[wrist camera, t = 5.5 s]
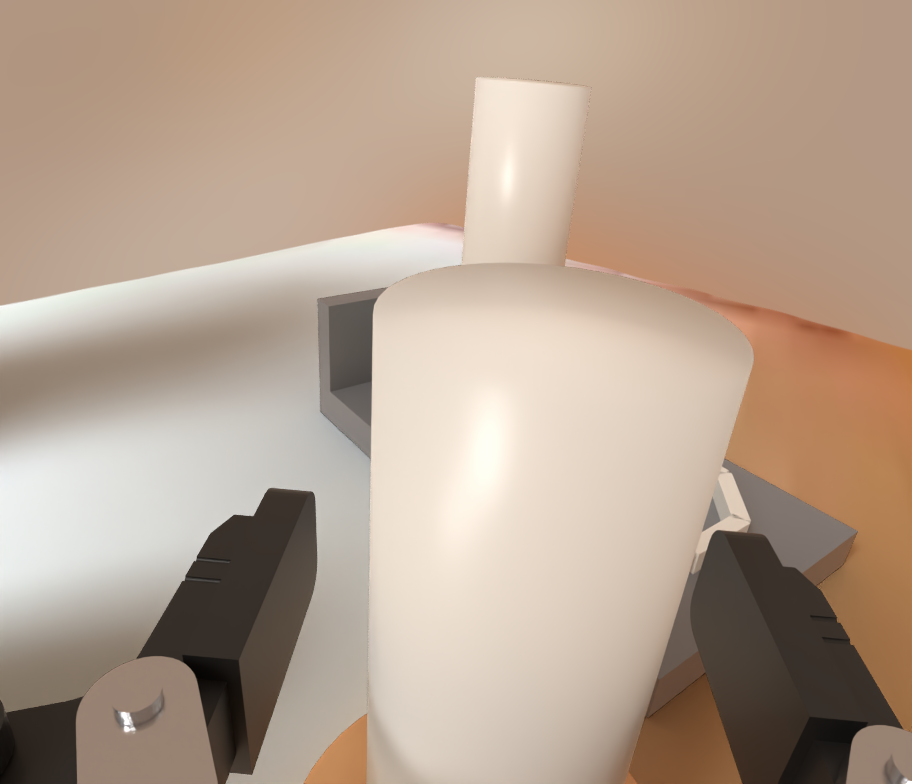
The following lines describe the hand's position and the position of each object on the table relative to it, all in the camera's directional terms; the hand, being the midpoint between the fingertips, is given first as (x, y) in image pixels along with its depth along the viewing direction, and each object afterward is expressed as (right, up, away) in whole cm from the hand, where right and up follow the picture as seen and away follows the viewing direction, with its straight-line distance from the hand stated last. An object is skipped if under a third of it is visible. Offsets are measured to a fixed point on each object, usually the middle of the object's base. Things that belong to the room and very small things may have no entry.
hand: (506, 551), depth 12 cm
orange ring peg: (-1, -8, +2) cm, 8 cm away
